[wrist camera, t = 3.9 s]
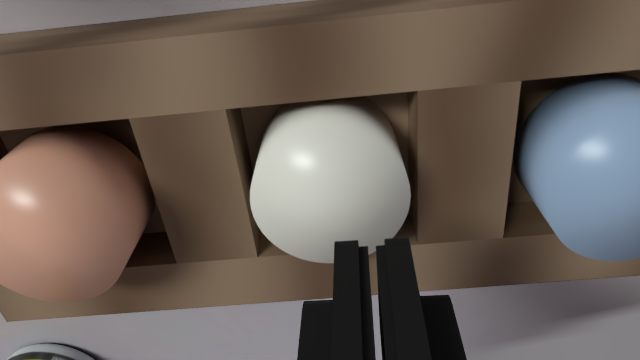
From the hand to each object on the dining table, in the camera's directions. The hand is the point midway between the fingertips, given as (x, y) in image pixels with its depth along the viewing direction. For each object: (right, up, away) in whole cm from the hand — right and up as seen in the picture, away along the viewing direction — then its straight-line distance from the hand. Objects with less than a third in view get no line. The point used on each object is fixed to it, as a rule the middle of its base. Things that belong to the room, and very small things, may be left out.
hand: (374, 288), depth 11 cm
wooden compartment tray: (-1, +4, +7) cm, 8 cm away
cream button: (-1, +3, +6) cm, 7 cm away
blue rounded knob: (+7, +4, +5) cm, 10 cm away
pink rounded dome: (-9, +2, +6) cm, 11 cm away
